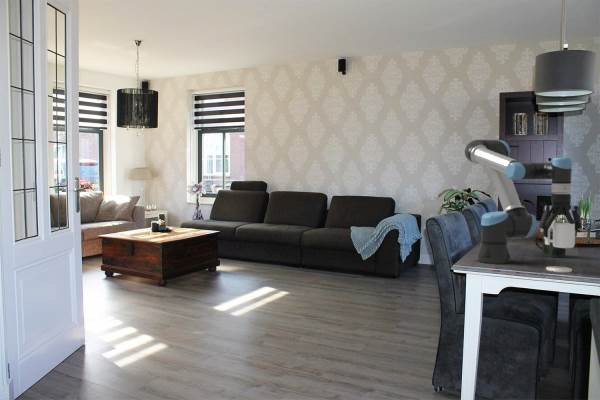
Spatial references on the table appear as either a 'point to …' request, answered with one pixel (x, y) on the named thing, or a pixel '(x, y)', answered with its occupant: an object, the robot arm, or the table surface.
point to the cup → (563, 235)
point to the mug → (550, 248)
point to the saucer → (559, 269)
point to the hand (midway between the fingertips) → (559, 244)
